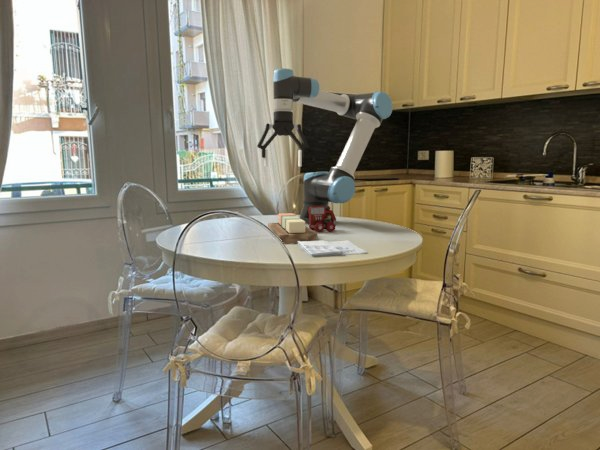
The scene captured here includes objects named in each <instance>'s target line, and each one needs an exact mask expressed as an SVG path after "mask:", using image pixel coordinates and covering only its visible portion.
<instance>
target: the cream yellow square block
mask: <svg viewBox="0 0 600 450" xmlns="http://www.w3.org/2000/svg"><path fill="white" fill-rule="evenodd" d="M305 225H306V224H305V221H304V220H302V219H291V220H286V231H288V232H289V233H305Z"/></svg>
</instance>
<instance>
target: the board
mask: <svg viewBox="0 0 600 450" xmlns="http://www.w3.org/2000/svg"><path fill="white" fill-rule="evenodd" d="M268 227H269V228H270V229H271V230H272V231H273V232H274V233H275V234H276V235H277V236H278V237H279V238H280V239H281V240H282V242H283V243H282V244H294V243H297V244H298V241H301V242H302V241H318V232H316V231H315V230H311V229H310V228H309V226H307V224H305V233H289V232H288V231H286V229H284V228H283V227H282V226H281V225H280V224H279V223H278V221H273V222H268V223H267V228H268Z"/></svg>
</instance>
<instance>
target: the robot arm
mask: <svg viewBox="0 0 600 450" xmlns="http://www.w3.org/2000/svg"><path fill="white" fill-rule="evenodd" d="M272 80H273V81H272V83H273V87H272V88H273V91H272V92H273V124H271V123H268V122H267V123H265V125H264V131H262V132H263V133H262V135H261V137H260V139H259V141H258V143H257V145H256V147H257V148H258V149H260V150H261V158H262V159H264V167H266V168H267V167H268V166H269V165H268V163H269V162H268V153H269V152H268V149H266V148H267V147H268V146H269V145H271V142H273V140H274V139H275V138H276V137H277V136H279V137H282V136H284V137H286V136H287V137H288V136H289V137H290V138H291V139H292V140H293V142H294V143H295V144H296V145H297V147H298V148H299V149H297V150H298V151H297V153H298V154H297V161H298V163H297V165H298V166H297V167H302V166H303V164H302V162H303V159H304V158H305V150H306V149H309V148H310V145H309V144H308V141H307V139H306V137H305V135H304V132H303V129H302V124H300V123H299V124H294V113H293V111H294V103H297V104H301V105H306V106H309V107H314V108H319V109H322V110H327V111H330V112H331V111H332V112H335V113H337V115H339V116H343V117H346V118H350V119H353V120H356V122H355V125H354V127H353V128H352V131H351V132H350V135H349V137H348V140H347V141H346V143H345V146H344V148H343V150H342V152H341V154H340V155H339V158H338V160H337V162H336V165H335V166H331V167H330V169H329V171H316V172H315V171H314V172H306V173H304V175H303V181H302V182H303V191H302V192H303V198H302V199H303V201H302V202H303V206H302V208H301V211H300V215H299V216H298V217H299V218H300V219H302V220H304V221H305V225H309V213H308V209H309V207H326V206H329V203H333V204H345V203H348V202H349V201H351V199H352V198H353V197H354V195H355V193H356V187H355V186H356V182H355V179H356V177H355V175H354V174H355V172H356V169H357V168H358V165H359V163H360V162H361V159H362V157H363V154H364V152H365V150H366V148H367V146H368V144H369V142H370V140H371V138H372V135H373V133H374V131H375V129H377V128H379V127H380V126H381V124H382V122H383V120H386V119H387V118H389V117H390V116H391V114H392V113H393V102H392V99H391V96H390V95H389V94H388V93H387V92H385V91H374V92H368V93H360V94H359V93H358V94H346V93H344V94H343V93H342V94H337V93H334V92H329V91H326V90H323V89H320V83H319V81H318V80H317V79H316V78H311V77H304V76H303V77H302V76H296V75H294V70H293V69H290V68H284V67H283V68H276V69H275V70H274V71H273V79H272ZM271 129H273V130H274V132H273V133H272V134H271V135H270V137H268V139H267V140H266V141H265V139H266V137H267V135H268V133H269V131H270V130H271ZM293 130H295V131H296V132H297V134H298V136H299V139H300V140H299V139H298V138H297V136H296V135H295V133H294V132H293ZM264 141H265V143H264ZM301 142H302V143H301ZM263 143H264V144H263ZM330 220H331V219H330Z"/></svg>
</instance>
